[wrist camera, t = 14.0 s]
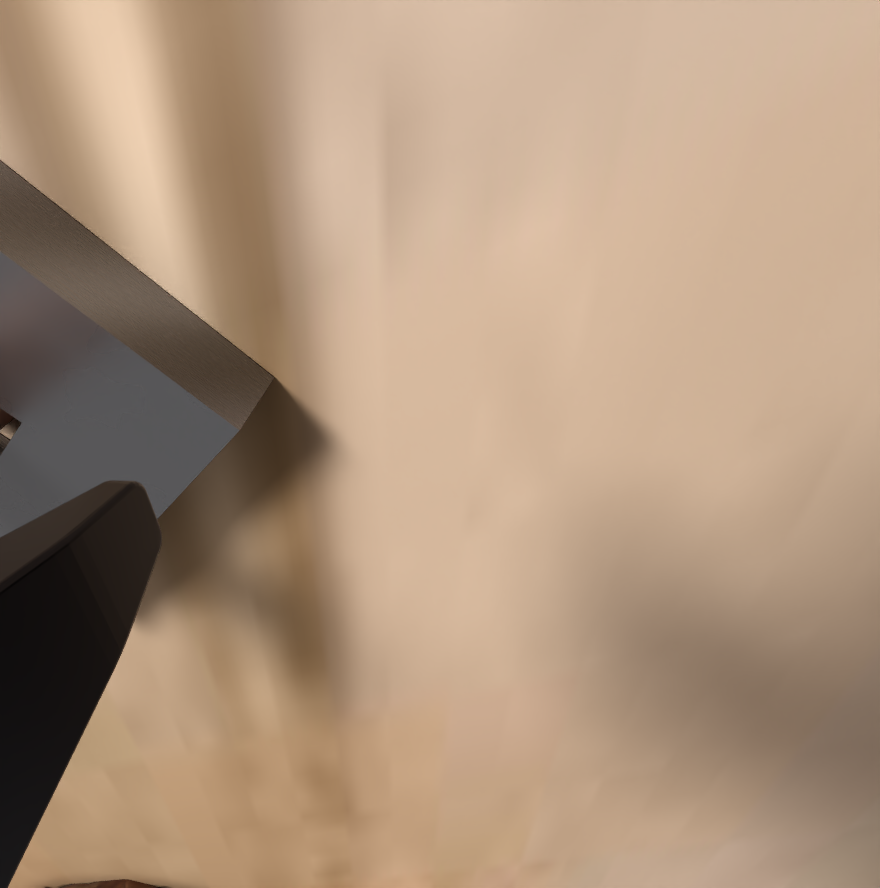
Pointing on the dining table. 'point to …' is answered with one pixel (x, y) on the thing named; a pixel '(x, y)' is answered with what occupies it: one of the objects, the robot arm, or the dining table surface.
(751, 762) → the dining table surface
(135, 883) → the chocolate cake
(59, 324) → the dark grey square base
